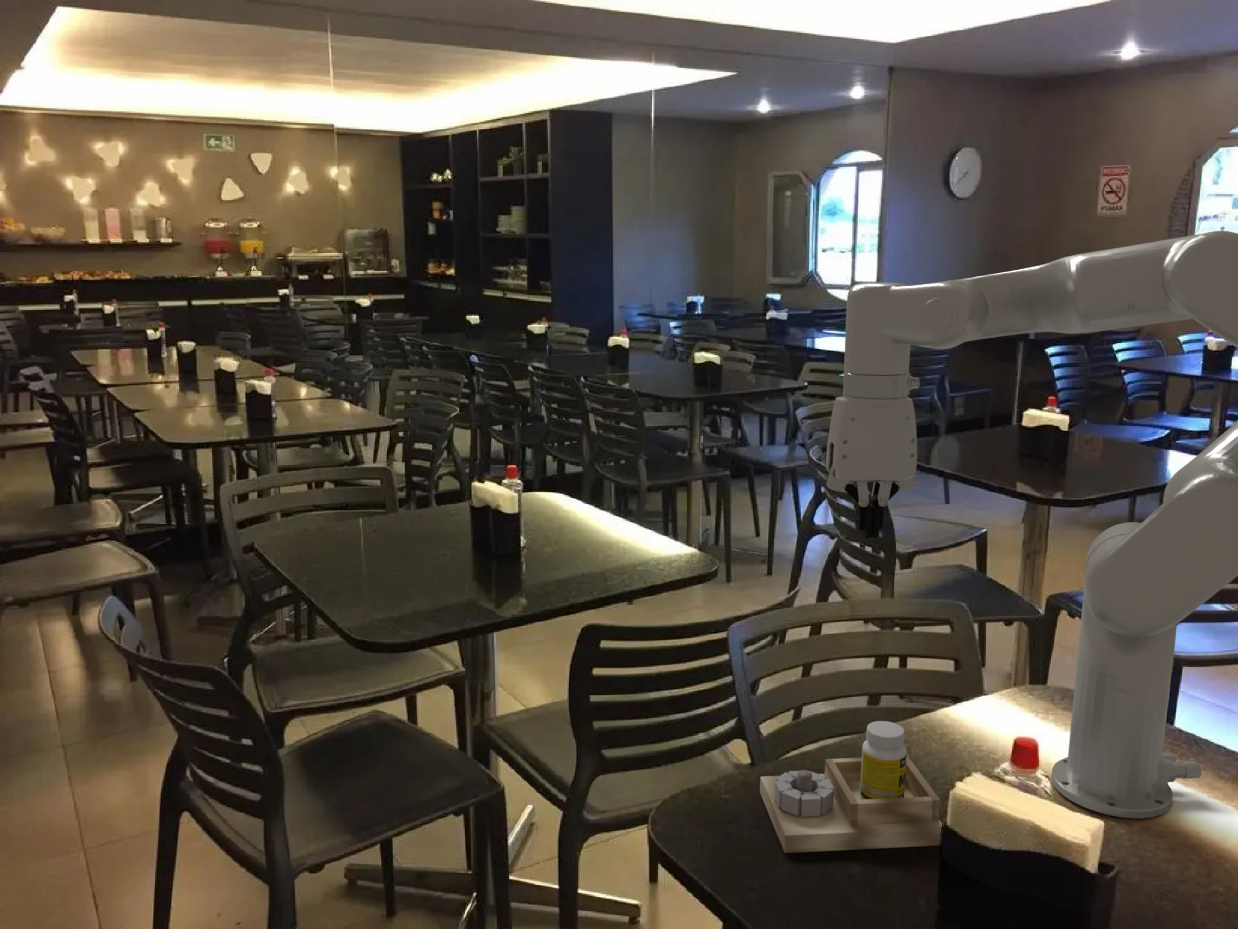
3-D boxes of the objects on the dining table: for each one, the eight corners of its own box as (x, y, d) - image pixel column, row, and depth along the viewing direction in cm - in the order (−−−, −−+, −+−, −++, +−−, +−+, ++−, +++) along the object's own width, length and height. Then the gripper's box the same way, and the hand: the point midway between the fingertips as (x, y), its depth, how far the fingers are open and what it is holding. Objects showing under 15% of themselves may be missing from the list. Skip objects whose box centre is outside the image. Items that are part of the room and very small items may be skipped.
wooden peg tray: (903, 786, 116) (905, 742, 115) (943, 845, 104) (947, 797, 103) (759, 792, 115) (761, 748, 114) (784, 853, 103) (786, 805, 102)
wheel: (822, 786, 112) (823, 769, 111) (838, 815, 106) (839, 798, 105) (770, 788, 111) (771, 772, 111) (783, 817, 105) (783, 800, 105)
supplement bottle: (905, 813, 107) (910, 741, 105) (860, 808, 107) (864, 737, 106) (901, 790, 111) (906, 720, 109) (858, 786, 112) (862, 717, 110)
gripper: (924, 382, 123) (916, 526, 126) (805, 384, 121) (800, 529, 125) (948, 390, 115) (939, 542, 119) (822, 392, 114) (817, 545, 118)
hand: (868, 535), depth 122 cm, fingers closed
